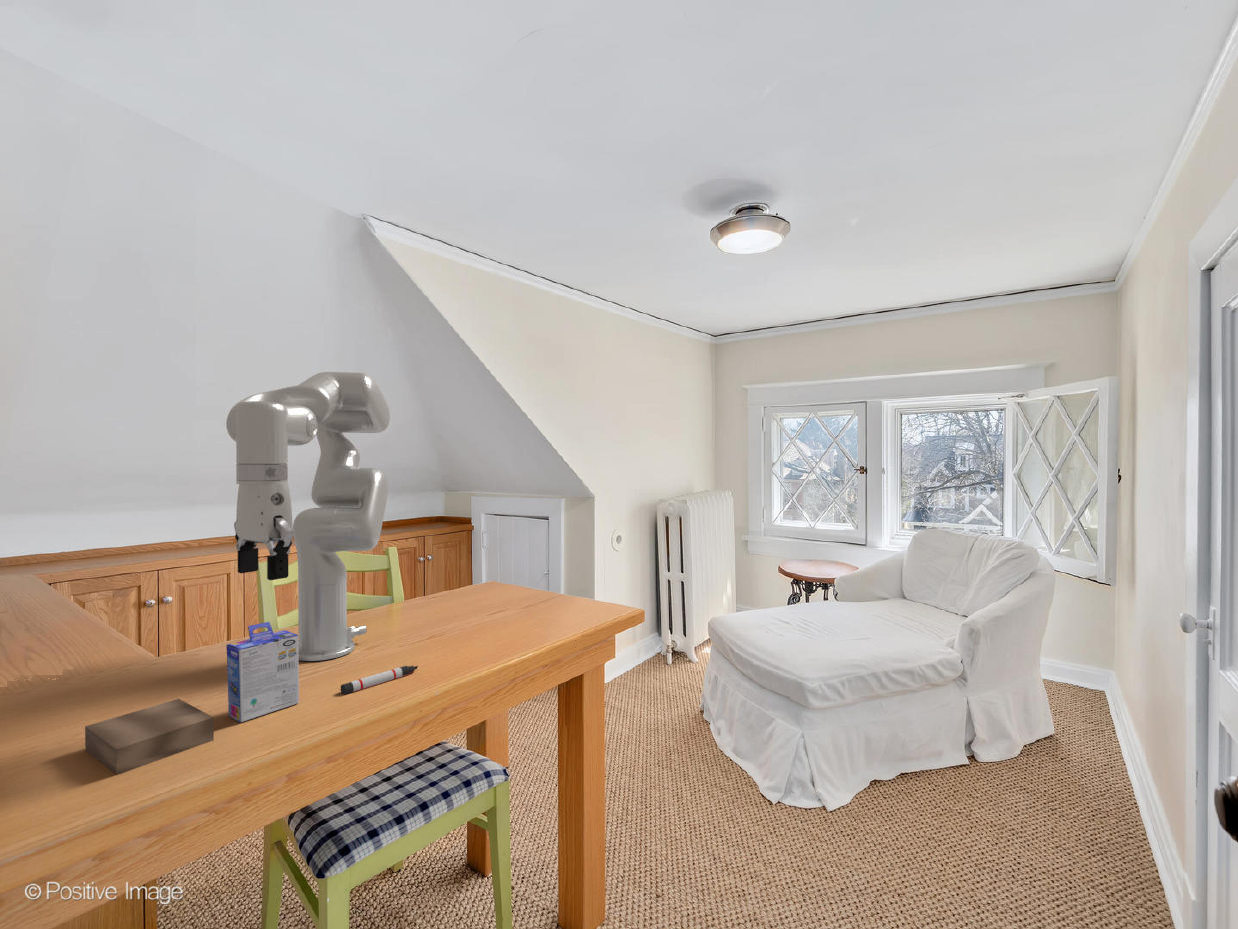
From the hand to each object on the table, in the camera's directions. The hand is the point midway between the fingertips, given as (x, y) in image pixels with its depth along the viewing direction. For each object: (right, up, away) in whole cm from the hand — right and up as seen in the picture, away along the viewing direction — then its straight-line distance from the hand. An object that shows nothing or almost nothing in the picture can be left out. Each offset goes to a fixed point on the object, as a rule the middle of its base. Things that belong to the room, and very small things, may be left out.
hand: (262, 575), depth 103 cm
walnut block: (-10, -24, -12) cm, 28 cm away
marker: (+15, -23, +14) cm, 31 cm away
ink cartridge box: (0, -23, +1) cm, 23 cm away
